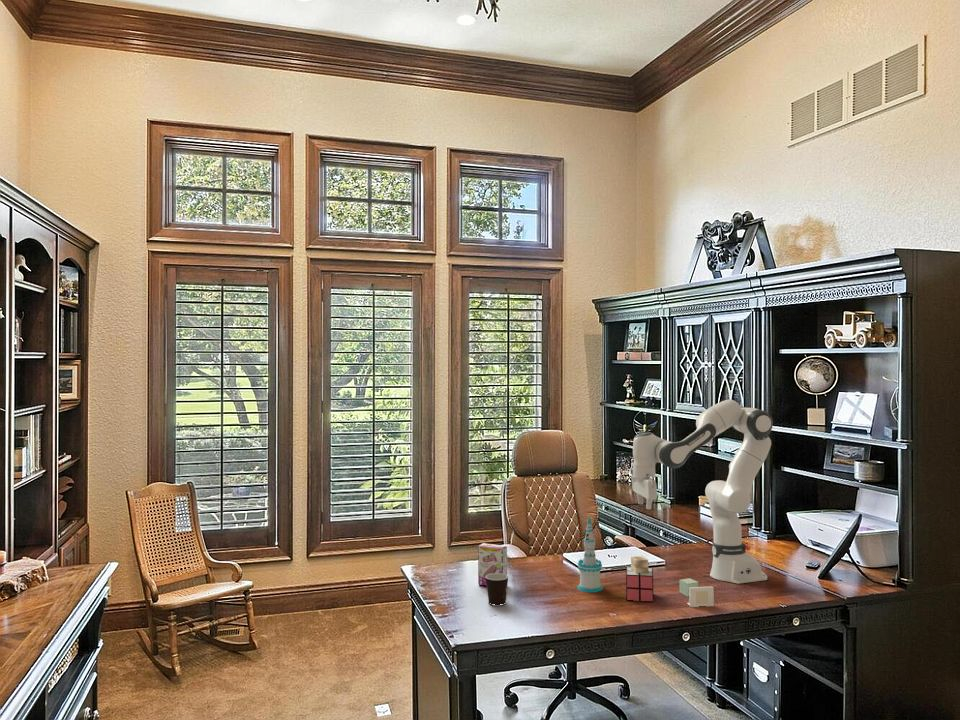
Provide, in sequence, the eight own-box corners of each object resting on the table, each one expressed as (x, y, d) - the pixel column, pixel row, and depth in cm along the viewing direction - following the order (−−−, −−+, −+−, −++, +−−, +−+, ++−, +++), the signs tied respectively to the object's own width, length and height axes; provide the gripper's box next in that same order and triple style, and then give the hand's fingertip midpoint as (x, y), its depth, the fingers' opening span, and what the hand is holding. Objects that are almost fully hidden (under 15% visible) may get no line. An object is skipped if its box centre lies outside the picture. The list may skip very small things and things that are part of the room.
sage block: (690, 590, 278) (689, 578, 278) (698, 594, 274) (698, 581, 274) (679, 592, 276) (679, 579, 276) (687, 596, 272) (687, 583, 272)
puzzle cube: (653, 602, 266) (653, 576, 266) (626, 601, 268) (625, 574, 268) (652, 593, 276) (652, 568, 276) (626, 592, 278) (626, 566, 278)
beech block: (643, 569, 275) (643, 556, 275) (648, 572, 270) (648, 559, 270) (631, 569, 274) (631, 556, 274) (635, 573, 269) (635, 560, 269)
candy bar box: (477, 585, 288) (477, 545, 288) (482, 582, 292) (482, 542, 292) (503, 589, 283) (502, 548, 283) (508, 585, 288) (507, 545, 288)
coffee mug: (501, 608, 262) (500, 581, 262) (481, 604, 266) (481, 578, 266) (516, 599, 272) (516, 573, 272) (497, 595, 276) (496, 569, 276)
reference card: (710, 603, 264) (710, 584, 264) (714, 606, 261) (713, 587, 261) (687, 604, 263) (686, 585, 263) (690, 607, 260) (690, 588, 260)
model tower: (584, 593, 277) (583, 516, 277) (573, 585, 286) (572, 511, 286) (607, 590, 280) (606, 514, 279) (596, 583, 289) (595, 509, 289)
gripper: (660, 476, 278) (661, 511, 278) (643, 468, 299) (643, 501, 299) (645, 477, 278) (645, 512, 278) (628, 469, 298) (629, 501, 298)
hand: (644, 506), depth 288 cm, fingers open, 8 cm apart
